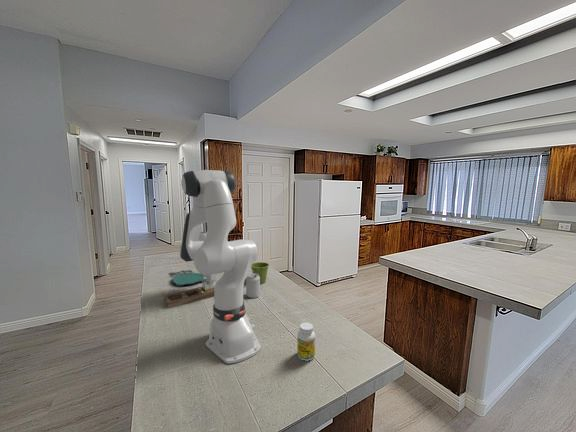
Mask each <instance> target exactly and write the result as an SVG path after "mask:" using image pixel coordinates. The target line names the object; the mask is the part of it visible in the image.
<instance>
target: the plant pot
mask: <svg viewBox="0 0 576 432" xmlns="http://www.w3.org/2000/svg"><path fill="white" fill-rule="evenodd" d="M269 267H270V263H268V262H263V261H259V262H254V263H253V264H252V265H251V267H250V269H251V272H252V273H256V274H258V275H259V277H260V284H266V282H267V274H268V270H269Z"/></svg>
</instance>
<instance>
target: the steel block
mask: <svg viewBox="0 0 576 432" xmlns="http://www.w3.org/2000/svg"><path fill="white" fill-rule="evenodd" d="M201 287H202V290H203V291H204V292H206V291H210V290H213V287H211V288H210V287H209V280H208V279H203V280H202V281H201Z"/></svg>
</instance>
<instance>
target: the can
mask: <svg viewBox="0 0 576 432" xmlns="http://www.w3.org/2000/svg"><path fill="white" fill-rule="evenodd" d="M245 280H246V281H245V287H246V289H245V290H246V291H245V294H246V296H247V297H248V298H249V299H256V298H258V297H259V296H260V294H261V283H260V277H259V275H258V274H256V273H253V272H252V273H251V272H250V273H249V274H248V273H247V275H246V277H245Z"/></svg>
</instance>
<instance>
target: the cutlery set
mask: <svg viewBox="0 0 576 432" xmlns="http://www.w3.org/2000/svg"><path fill="white" fill-rule="evenodd" d="M168 275H169V276H170V278H171V283H172V284H174V285H176V286H179V287H182V286H190V285H194V284H195V285H196V284H198V283H200V282H201V283H202V280H203V276H202V274H201V273H200V272H198V273H197V272H193V271H192V270H191V269H190V270H189V269H188V270H185V269H184V270H180V271H176V272H174V271H173V272H169V273H168Z"/></svg>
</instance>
